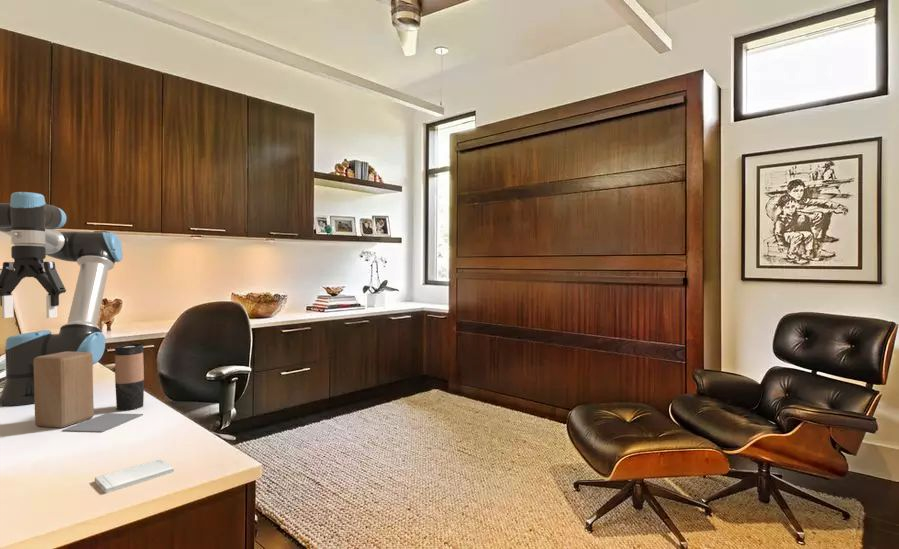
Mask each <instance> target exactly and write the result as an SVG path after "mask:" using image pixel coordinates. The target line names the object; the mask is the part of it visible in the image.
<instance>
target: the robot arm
mask: <svg viewBox="0 0 899 549" xmlns="http://www.w3.org/2000/svg"><path fill="white" fill-rule="evenodd" d="M67 219H68V218H67V214H66V213H65V211H64V210H63V209H61V208H60V207H57V206H56V205H53V204H47V203H46V199H45V195H43V194H41V193H37V192H30V191H29V192H28V191H16V192H12V193H11V195H10V201H9V202H8V203H6V202H0V232H1V233H3V234H6V235H8V236H10V237H11V240H10V241H11V242H10V243H11V244H12V246H11V248H10V249H11V250H10V251H11V255H10V256H11V258H12V259H13V260H14V261H4V262H2V268H1V271H0V307H1V318H2V319H7V318H8V319H10V318H14V314H15V313H14V309H15V308H14V295H13V291H14V290H15V289H16V288H17V287H18V285H19V284H20V283H21V281H22V280H23V279H25V278H34V279H35V280H37V281H38V283H39V285H41V286H42V288H43V289H44V290H45V291H46V292H47V295H45V297H46V300H45V301H46V304H45V306H46V319H53V318H58V307H59V305H60V294H61V295H62V294H65V293H66V292H67V289H66V287H65V285H64V284H63V281H62V279H61V277H60V275H59V273H58V271H57V269H56V264H55V261H44V259H46V256H48V257H51V258H53V259H56V260H60V261H65V262H70V263H71V262H73V263H77V265H78V266H79V267H80V269H79V271H78V276H77V281H76V285H75V289H74V292H73V293H74V294H73V297H72V302H71V306H70V310H69V313H68V317H67V318H68V319H67V322H66V323H65V324H63V325H61V327H60V328H59V332H58V333H55V334H54V333H52V331H51V330H49V329H45V330H37V331H30V332H25V333H19V334H14V335H10V336H8V337H7V338H6V339H5V348H4V352H5V353H4V355H5V383H4V386H3V387H2V391H1V394H0V404H2V405H1V406H5V405H14V406H23V405H24V404H25V405H31V403H32V404H35V399H34V358H36V357H38V356H43V355H49V354H55V353H60V352H66V351H69V352H89V353H92V358H93V365H95V364H97V363H98V362H99V361H100V360H101V358H102V357H103V355H104V352H105V349H106V336H105V335H104V333H103V332H102V330H101V328H100V327H99V326H98V322H99V317H100V312H101V308H102V303H103V297H104V292H105V288H106V283H107V278H108V274H109V271H111V270H112V269H114V268H115V263H119V262H121V261H122V260H123V254H124V253H123V252H124V251H123V246H122V242H121V239H120V238H119V236H118V235H117V234H116V233H114V232H108V231H107V232H105V231H102V232H99V231H95V232H94V231H93V232H92V231H60V230H58V229H60V228H62V227H64V225H65V224H66V223H67Z"/></svg>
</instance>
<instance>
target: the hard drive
mask: <svg viewBox="0 0 899 549" xmlns="http://www.w3.org/2000/svg"><path fill="white" fill-rule="evenodd" d="M172 472H174V473H175V469H174V467H173V466H171V465H170V464H169V463H167V462H166V461H164V460H163V459H162V458H158V459H155V460H151V461H149V462H145V463H142V464H139V465H135V466H131V467H127V468H124V469H121V470H116V471H113V472H109V473H106V474H103V475H100V476H96V477H94V483H95V484H96V485H97V486H98V487H99V488H100V489H101V490H102V491H103V492H104V493H105V494H109V493H112V492H116V491H119V490H122V489H125V488H128V487H132V486H134V485H139V484H141V483H145V482H147V481H148V482H149V481H150V480H155V479H157V477H158V478H160V476H161V477H164V476H167V475H169V473H171V474H173V473H172ZM166 474H167V475H166ZM163 475H164V476H163ZM154 478H155V479H154Z"/></svg>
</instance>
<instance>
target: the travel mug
mask: <svg viewBox="0 0 899 549" xmlns="http://www.w3.org/2000/svg"><path fill="white" fill-rule="evenodd" d="M144 369H145V368H144V344H143V343H142V344H141V343H129V344H121V345H117V346H116V347H114V376H115V377H114V378H115V380H114V381H115V382H114V383H115V398H116V399H115V401H116V403H115V404H116V411H120V412H124V411H133V410H138V409H140V408H143V407H144V400H145V397H144V396H145V395H144V394H145V390H144V389H145V388H144V387H145V386H144V385H145V374H144V372H145V370H144Z"/></svg>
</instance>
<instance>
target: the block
mask: <svg viewBox="0 0 899 549" xmlns="http://www.w3.org/2000/svg"><path fill="white" fill-rule="evenodd" d="M93 365H94V364H93V358H92V353H89V352H69V351H66V352H60V353H55V354H49V355H43V356H38V357H36V358H34V399H35V403H34V425H36V427H47V428H59V429H64V428H67V427H70V426H73V425H76V424H79V423H82V422H85V421H87V420H90V419H93V418H94V415H95V414H94V410H95V409H94V369H93ZM75 423H76V424H75ZM72 424H73V425H72ZM69 425H70V426H69ZM66 426H67V427H66ZM63 427H64V428H63Z"/></svg>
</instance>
